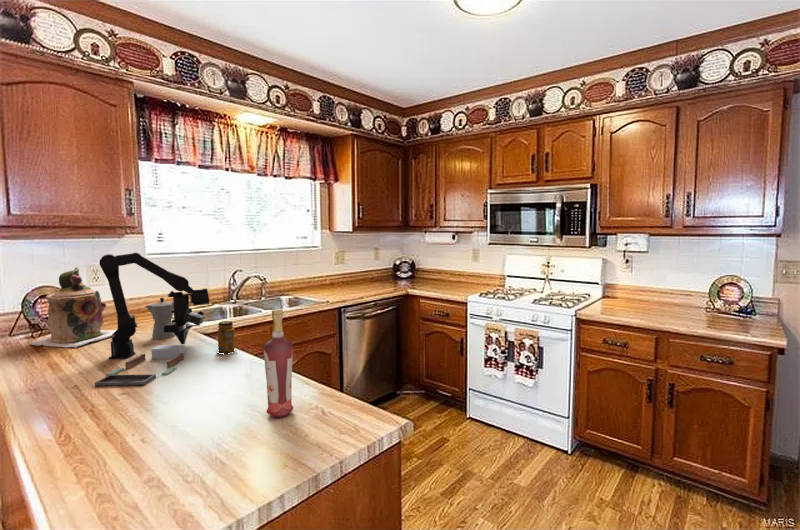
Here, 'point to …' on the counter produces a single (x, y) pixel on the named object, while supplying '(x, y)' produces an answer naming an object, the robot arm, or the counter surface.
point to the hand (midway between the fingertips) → (183, 344)
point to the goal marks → (123, 369)
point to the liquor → (278, 369)
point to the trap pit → (125, 380)
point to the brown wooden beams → (141, 358)
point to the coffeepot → (161, 318)
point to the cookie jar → (74, 314)
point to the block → (167, 351)
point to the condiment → (226, 338)
